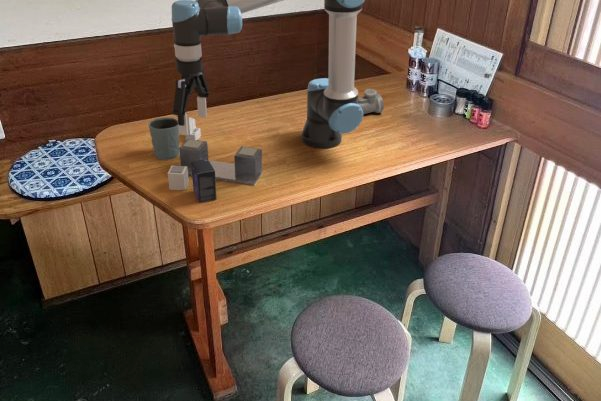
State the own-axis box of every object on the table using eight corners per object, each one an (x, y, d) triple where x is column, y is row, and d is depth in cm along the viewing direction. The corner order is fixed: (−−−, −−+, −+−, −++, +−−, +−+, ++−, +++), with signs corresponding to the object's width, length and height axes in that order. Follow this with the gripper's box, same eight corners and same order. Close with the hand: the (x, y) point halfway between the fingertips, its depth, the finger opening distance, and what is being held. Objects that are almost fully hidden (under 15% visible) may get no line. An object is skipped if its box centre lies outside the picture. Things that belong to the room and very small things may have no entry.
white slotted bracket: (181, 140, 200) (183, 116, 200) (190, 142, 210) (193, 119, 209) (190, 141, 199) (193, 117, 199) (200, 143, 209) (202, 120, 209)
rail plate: (263, 170, 188) (263, 145, 183) (254, 185, 180) (253, 159, 175) (191, 160, 193) (189, 135, 188) (179, 174, 185) (176, 148, 179)
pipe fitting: (375, 106, 236) (376, 84, 229) (384, 115, 230) (385, 93, 223) (349, 113, 233) (349, 91, 226) (358, 122, 227) (358, 100, 220)
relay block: (188, 182, 180) (187, 165, 177) (185, 190, 176) (183, 173, 173) (173, 181, 180) (171, 164, 177) (169, 189, 176) (167, 172, 173)
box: (193, 190, 176) (190, 160, 170) (210, 187, 178) (208, 157, 172) (199, 203, 170) (196, 173, 164) (217, 200, 172) (215, 169, 166)
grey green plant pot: (146, 157, 194) (142, 126, 187) (162, 145, 202) (159, 114, 195) (172, 163, 191) (168, 131, 184) (187, 150, 199) (184, 119, 192)
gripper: (195, 44, 171) (199, 108, 182) (155, 69, 150) (163, 140, 162) (217, 46, 169) (220, 111, 181) (181, 72, 149) (186, 144, 160)
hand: (193, 125), depth 171 cm, fingers open, 13 cm apart
